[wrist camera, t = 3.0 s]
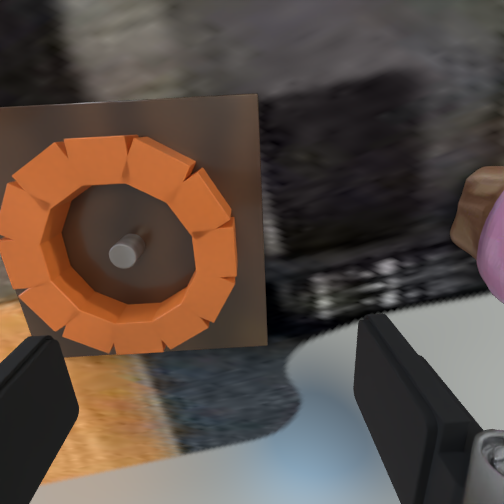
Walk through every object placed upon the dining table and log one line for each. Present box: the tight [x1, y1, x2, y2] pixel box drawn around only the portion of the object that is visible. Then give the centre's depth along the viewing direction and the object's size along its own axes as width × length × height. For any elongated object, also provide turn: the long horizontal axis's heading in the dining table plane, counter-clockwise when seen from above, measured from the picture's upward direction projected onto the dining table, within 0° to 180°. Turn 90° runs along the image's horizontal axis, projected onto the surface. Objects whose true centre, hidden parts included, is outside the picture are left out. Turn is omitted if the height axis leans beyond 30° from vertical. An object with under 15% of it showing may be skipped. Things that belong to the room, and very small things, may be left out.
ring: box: [0, 135, 237, 355], centre depth 20 cm, size 13×13×2 cm
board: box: [0, 94, 268, 357], centre depth 20 cm, size 17×17×3 cm
